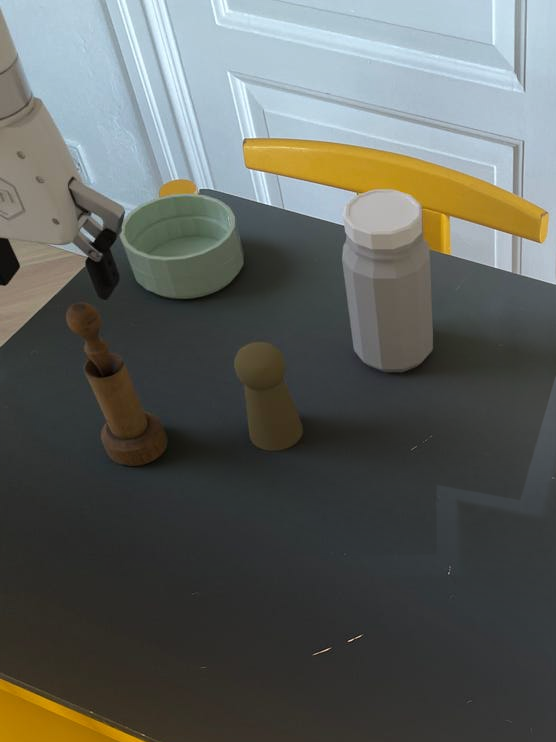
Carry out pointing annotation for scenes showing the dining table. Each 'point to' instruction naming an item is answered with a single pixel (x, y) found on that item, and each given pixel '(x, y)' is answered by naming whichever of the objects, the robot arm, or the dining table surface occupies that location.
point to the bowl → (183, 245)
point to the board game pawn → (267, 397)
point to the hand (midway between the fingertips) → (59, 283)
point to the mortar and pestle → (116, 396)
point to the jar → (388, 280)
